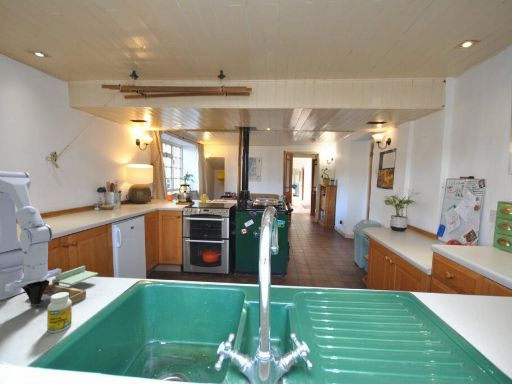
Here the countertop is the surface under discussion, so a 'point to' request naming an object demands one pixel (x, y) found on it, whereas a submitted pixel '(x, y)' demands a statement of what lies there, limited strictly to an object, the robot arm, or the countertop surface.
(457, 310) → the countertop surface
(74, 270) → the cover
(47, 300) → the gray rectangular block
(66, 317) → the supplement bottle
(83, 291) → the brown wooden frame
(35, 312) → the countertop surface
